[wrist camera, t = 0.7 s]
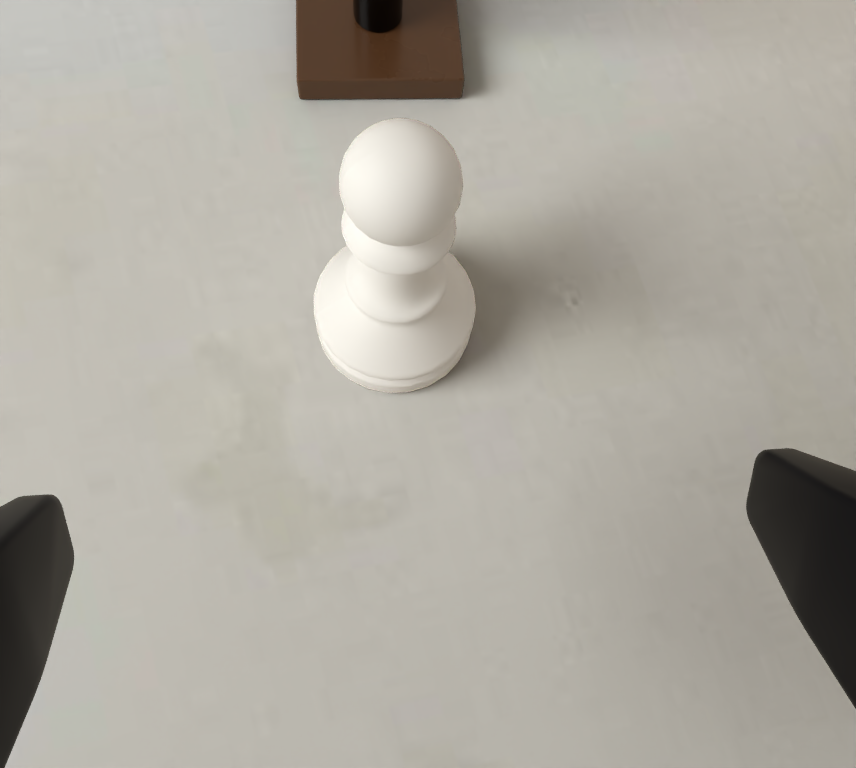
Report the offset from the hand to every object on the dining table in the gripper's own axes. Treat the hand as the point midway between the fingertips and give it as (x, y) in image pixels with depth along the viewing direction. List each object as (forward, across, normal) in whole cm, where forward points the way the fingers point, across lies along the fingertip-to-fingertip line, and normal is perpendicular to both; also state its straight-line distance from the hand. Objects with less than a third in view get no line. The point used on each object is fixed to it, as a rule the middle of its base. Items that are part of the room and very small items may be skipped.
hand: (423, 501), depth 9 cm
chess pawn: (+15, 0, +3) cm, 15 cm away
